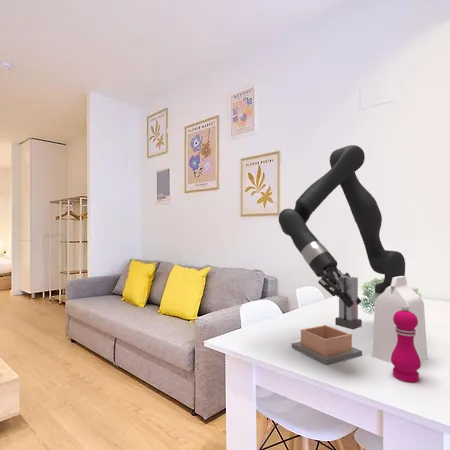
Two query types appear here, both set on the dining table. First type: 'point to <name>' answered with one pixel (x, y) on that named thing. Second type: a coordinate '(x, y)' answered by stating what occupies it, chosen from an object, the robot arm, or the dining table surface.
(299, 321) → the dining table surface
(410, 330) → the pepper mill
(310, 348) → the holder
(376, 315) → the milk
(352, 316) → the twin upright plate stand
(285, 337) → the dining table surface
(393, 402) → the dining table surface
